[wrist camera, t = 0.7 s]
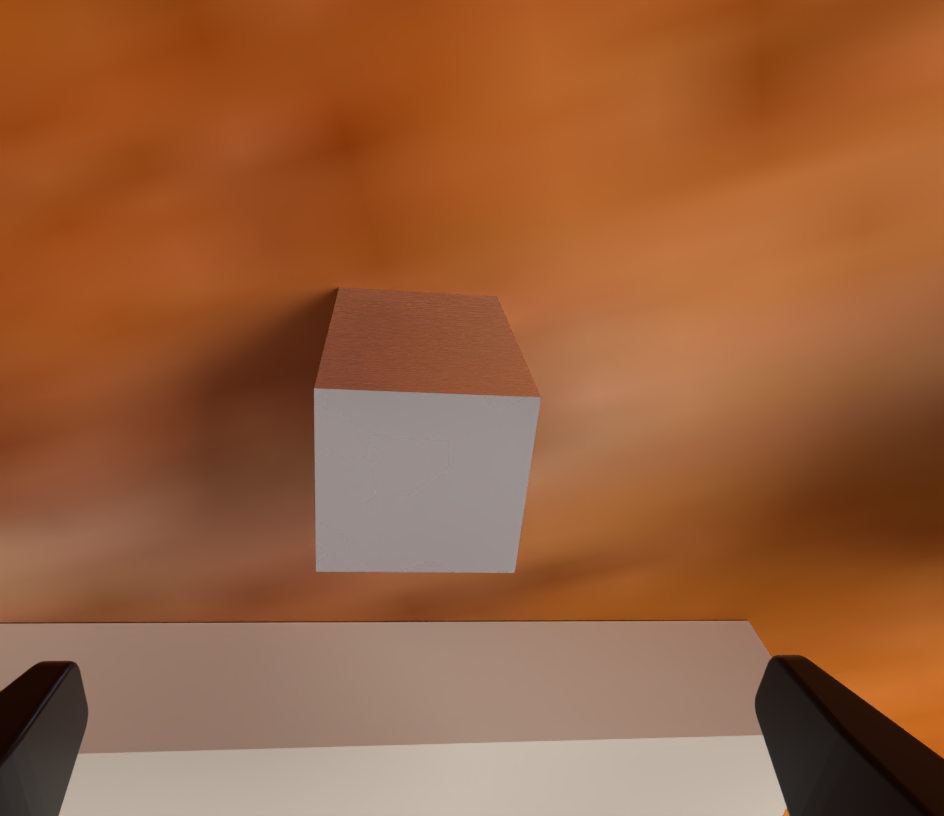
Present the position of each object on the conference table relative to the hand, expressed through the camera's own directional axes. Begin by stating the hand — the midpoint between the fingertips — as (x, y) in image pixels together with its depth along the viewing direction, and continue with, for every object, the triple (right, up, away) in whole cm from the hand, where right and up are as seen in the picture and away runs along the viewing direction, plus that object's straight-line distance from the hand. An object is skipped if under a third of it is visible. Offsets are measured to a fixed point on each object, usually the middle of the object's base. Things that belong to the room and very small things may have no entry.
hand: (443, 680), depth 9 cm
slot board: (-3, -11, +17) cm, 21 cm away
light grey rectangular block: (-1, +5, +9) cm, 11 cm away
